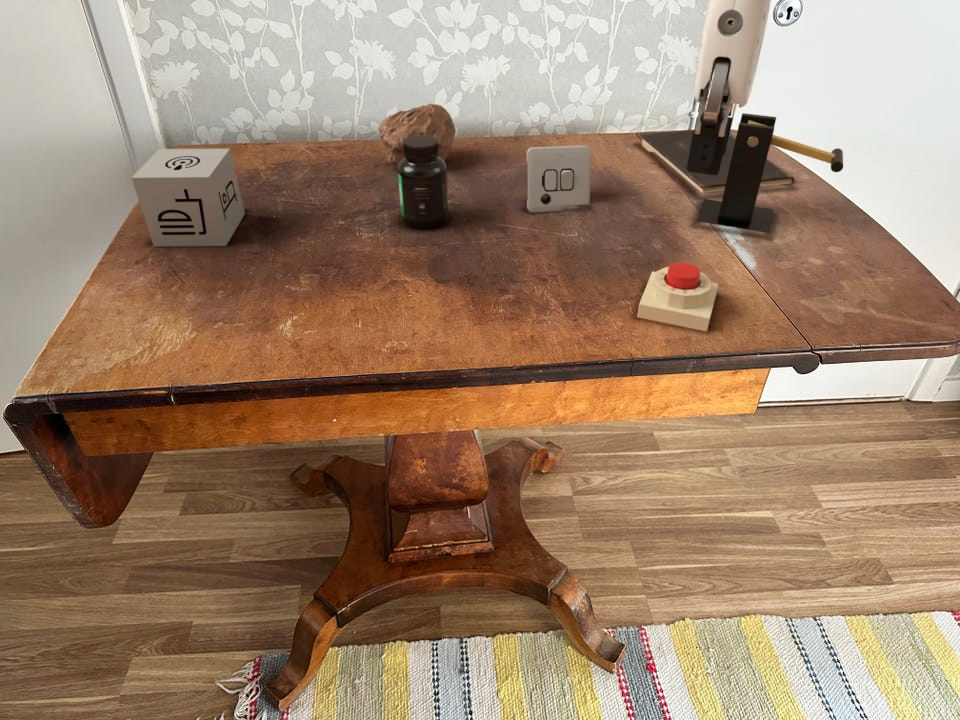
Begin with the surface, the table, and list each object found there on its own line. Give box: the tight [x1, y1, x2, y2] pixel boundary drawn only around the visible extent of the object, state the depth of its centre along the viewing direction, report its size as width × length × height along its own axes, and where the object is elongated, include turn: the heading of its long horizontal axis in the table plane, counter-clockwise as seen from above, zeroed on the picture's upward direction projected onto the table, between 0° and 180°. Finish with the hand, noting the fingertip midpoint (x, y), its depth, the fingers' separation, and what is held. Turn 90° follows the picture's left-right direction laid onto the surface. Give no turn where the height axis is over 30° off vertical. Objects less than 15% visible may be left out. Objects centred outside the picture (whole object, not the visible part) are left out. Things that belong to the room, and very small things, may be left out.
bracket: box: [696, 112, 777, 234], centre depth 98 cm, size 10×8×15 cm
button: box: [666, 262, 701, 290], centre depth 81 cm, size 4×4×2 cm
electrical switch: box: [526, 145, 592, 213], centre depth 104 cm, size 9×5×9 cm, turn 95°
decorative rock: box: [377, 103, 457, 170], centre depth 117 cm, size 13×11×10 cm
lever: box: [747, 120, 844, 173], centre depth 93 cm, size 13×5×2 cm, turn 68°
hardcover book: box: [639, 129, 795, 194], centre depth 118 cm, size 16×23×2 cm
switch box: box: [636, 266, 719, 332], centre depth 83 cm, size 8×8×4 cm
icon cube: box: [131, 148, 246, 248], centre depth 98 cm, size 10×10×10 cm
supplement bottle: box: [397, 135, 449, 231], centre depth 99 cm, size 7×7×12 cm
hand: (706, 161), depth 73 cm, fingers open, 4 cm apart
